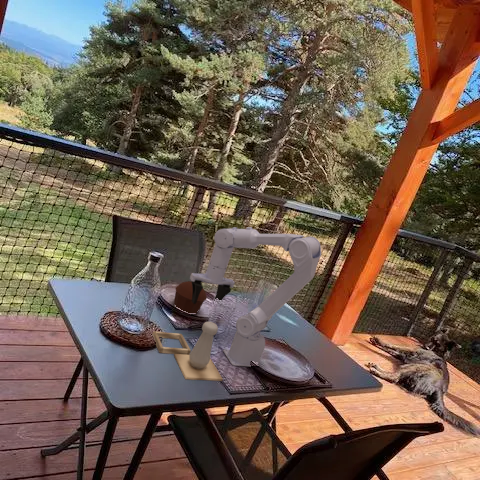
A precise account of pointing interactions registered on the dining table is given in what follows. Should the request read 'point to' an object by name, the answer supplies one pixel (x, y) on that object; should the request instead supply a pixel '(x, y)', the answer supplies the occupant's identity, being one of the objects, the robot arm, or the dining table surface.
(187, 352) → the birch collar
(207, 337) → the beige bowling pin
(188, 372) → the cork mat
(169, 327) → the dining table surface
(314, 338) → the dining table surface
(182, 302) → the muffin
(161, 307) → the dining table surface
